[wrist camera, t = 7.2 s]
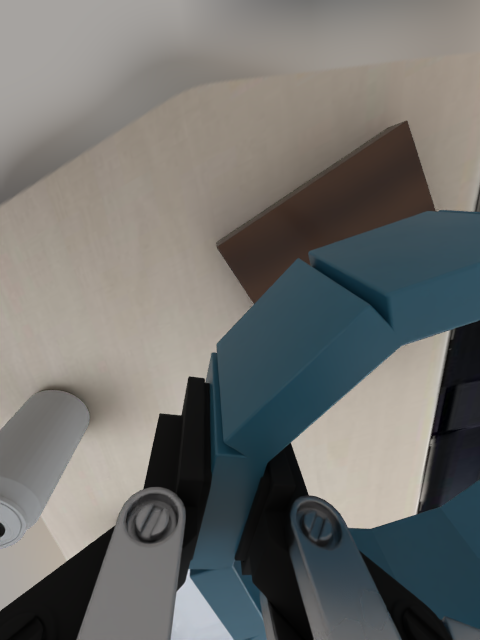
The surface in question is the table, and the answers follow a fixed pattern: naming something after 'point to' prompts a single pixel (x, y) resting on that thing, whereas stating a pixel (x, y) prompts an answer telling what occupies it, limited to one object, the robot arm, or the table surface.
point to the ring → (327, 389)
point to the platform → (331, 209)
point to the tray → (195, 616)
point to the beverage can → (36, 457)
